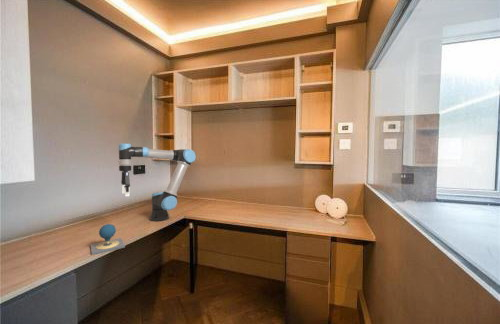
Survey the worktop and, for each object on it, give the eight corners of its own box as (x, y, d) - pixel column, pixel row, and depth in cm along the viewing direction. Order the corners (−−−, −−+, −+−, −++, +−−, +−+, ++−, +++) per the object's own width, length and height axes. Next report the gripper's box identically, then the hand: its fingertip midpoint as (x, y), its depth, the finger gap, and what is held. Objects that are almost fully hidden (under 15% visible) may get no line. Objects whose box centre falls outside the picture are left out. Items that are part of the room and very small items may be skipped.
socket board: (121, 239, 140) (121, 237, 140) (124, 247, 128) (124, 244, 128) (90, 245, 130) (90, 243, 130) (91, 255, 118) (91, 252, 118)
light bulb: (113, 240, 135) (113, 221, 134) (117, 243, 129) (117, 224, 129) (97, 244, 128) (97, 224, 128) (101, 248, 123) (101, 227, 122)
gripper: (116, 164, 159) (117, 192, 160) (121, 166, 140) (122, 198, 141) (128, 164, 164) (128, 191, 165) (134, 165, 145) (135, 197, 145)
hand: (125, 194), depth 153 cm, fingers open, 13 cm apart
